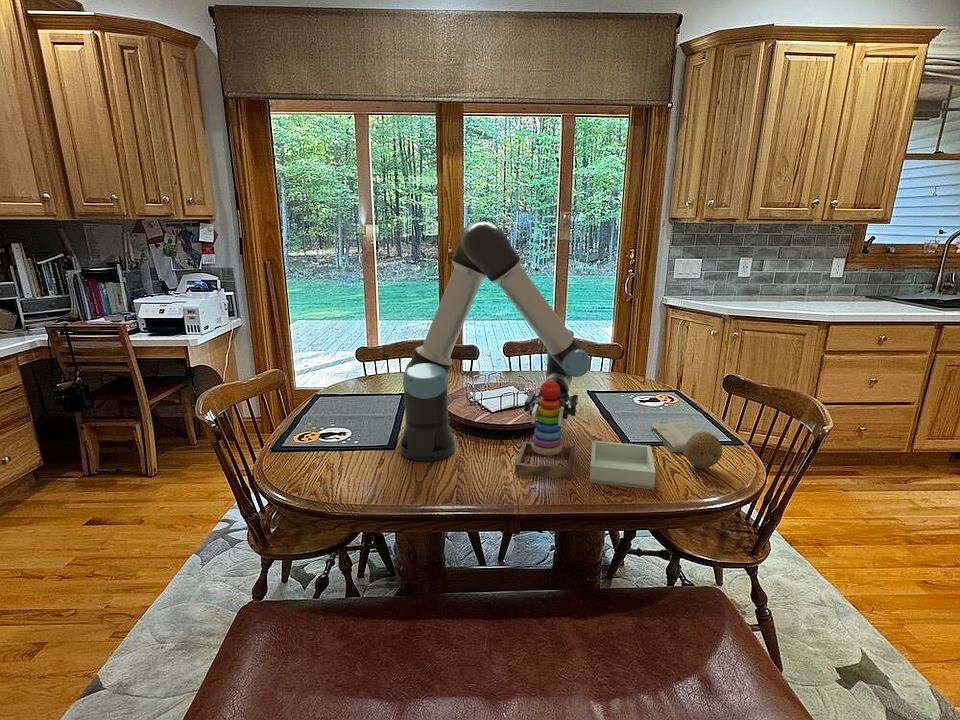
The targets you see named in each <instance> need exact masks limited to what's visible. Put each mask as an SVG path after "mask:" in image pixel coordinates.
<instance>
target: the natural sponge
mask: <svg viewBox="0 0 960 720" xmlns="http://www.w3.org/2000/svg"><path fill="white" fill-rule="evenodd" d="M697 432H698V431H697ZM722 446H723V445H722V443H721V441H720V440H719V439H718V438H717V436H716V435H714V434H713V433H710V432H707V431H699V432H698V433H696V434H694V435H693V436H691V437H690V439H689V440H688V441H687V443H686V444H685V446H684V452H683V455H684V457H685V458H686V459H687V460H688V461H689V462H690V463H691V464H692V465H693V466H694V467H696V468H697V469H699V470H706V469H708V468H710V467H712V466H714V465H716V464H717V463H718V462H719V461H720V460H721V459H722V456H723V447H722Z"/></svg>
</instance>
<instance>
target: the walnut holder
mask: <svg viewBox="0 0 960 720" xmlns="http://www.w3.org/2000/svg"><path fill="white" fill-rule="evenodd" d="M532 442H533V441H523V442H522V445H521V448H520V451H519V452H518V456H517V458H516V460H515V461H516V462H515V464H514V474H516V473H519V474H518V475H525V474H526V475H527V476H533V477H544V478H553V479H563V480H572V475H573V473H572V472H573V466H574V461H575V449H576V448H575V446H574V445H573V446H572V445H565V444H564V445H563V444H562V450H561V452H559V453H558V454H555V455H556V456H564V455H565V457H568V462H567V463H568V464H567V467H561V466H550V465H542V464H532V463H531V464H530V463H523V462H524V460H525V457H526V455H527V453H535V454H536V452H535V451H534V450H533V449H532V447H531V445H532ZM555 455H554V456H555ZM526 475H525V476H526Z"/></svg>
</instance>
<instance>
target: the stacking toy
mask: <svg viewBox="0 0 960 720" xmlns="http://www.w3.org/2000/svg"><path fill="white" fill-rule="evenodd" d="M539 392H540V393H541V395H542V397H543V398H542V399H541V400H540V402H539V403H540V407H539V408H538V415H537V418H536V421H535V428H534V434H533V435H532V441H531V442H532V445H531V447H532V449H533V450H534V451H535V452H536V453H537V454H540V455H544V456H555V454H558V453H559V452H561V450H562V445H563V444H562V434H563V433H562V430H561V428H562V425H561V426H558V420H559V413H560V409H559V408H558V406H559V400H558V399H556V398H557V397H558V396H559V394H560V387H559V385H558V384H557V383H556V382H555V381H546V382H545V381H544V382H543V383H542V384H541V385H540V388H539ZM535 452H534V453H535ZM536 453H535V454H536Z"/></svg>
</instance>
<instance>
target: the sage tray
mask: <svg viewBox="0 0 960 720" xmlns="http://www.w3.org/2000/svg"><path fill="white" fill-rule="evenodd" d="M654 462H655V461H654V456H653V452H652V446H651V445H644V444H634V443H623V442H621V443H620V442H613V441H604V440H603V441H602V440H592V441H591V453H590V464H589V466H590V467H589V469H590V471H589V483H590V484H597V485H598V484H599V485H600V484H601V485H605V486H606V485H608V486H617V487H623V488H635V489H643V490H651V489H652V490H655V481H656V468H655V463H654ZM652 490H651V491H652Z"/></svg>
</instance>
